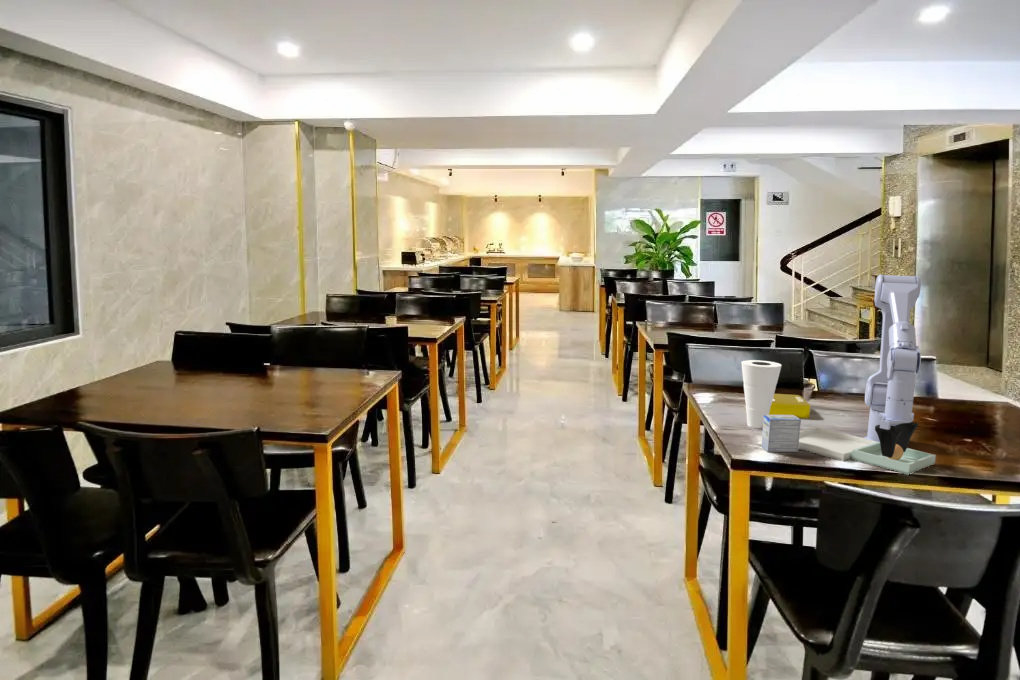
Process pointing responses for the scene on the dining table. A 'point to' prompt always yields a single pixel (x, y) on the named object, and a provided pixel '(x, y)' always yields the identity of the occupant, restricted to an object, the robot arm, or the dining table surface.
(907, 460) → the dish
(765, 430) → the medicine box
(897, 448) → the ball
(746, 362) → the white paper towel roll
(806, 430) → the tray
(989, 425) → the dining table surface
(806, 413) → the element tile
